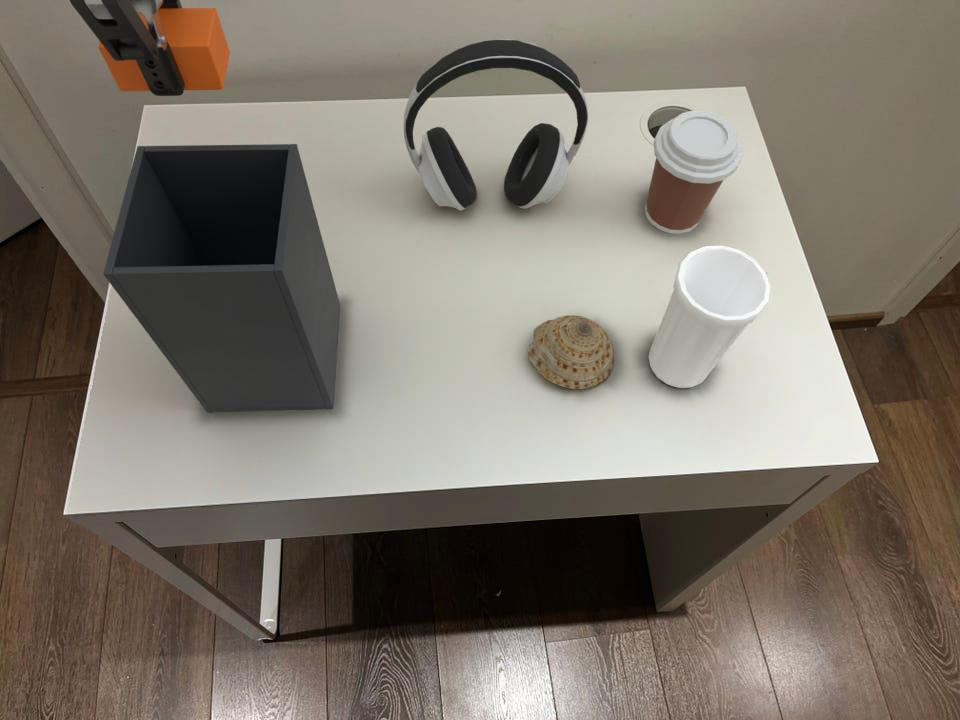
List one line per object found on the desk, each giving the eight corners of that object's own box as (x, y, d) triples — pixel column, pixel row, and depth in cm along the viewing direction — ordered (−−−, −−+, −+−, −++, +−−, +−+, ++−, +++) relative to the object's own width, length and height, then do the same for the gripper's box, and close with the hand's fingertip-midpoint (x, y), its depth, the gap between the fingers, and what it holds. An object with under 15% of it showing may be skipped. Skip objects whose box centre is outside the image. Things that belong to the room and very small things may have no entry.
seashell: (515, 322, 71) (588, 290, 69) (531, 343, 76) (600, 314, 74) (538, 392, 67) (616, 360, 65) (554, 410, 72) (627, 381, 70)
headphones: (411, 227, 79) (397, 80, 62) (408, 172, 84) (395, 20, 66) (577, 219, 81) (610, 72, 63) (567, 165, 85) (594, 14, 67)
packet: (120, 91, 48) (97, 47, 45) (130, 53, 50) (109, 8, 47) (223, 90, 48) (208, 45, 45) (230, 52, 50) (215, 7, 47)
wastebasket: (206, 412, 68) (102, 274, 48) (223, 307, 74) (137, 145, 54) (333, 408, 68) (282, 270, 49) (340, 304, 74) (296, 143, 54)
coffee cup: (617, 201, 82) (641, 120, 72) (678, 172, 85) (709, 91, 74) (665, 254, 78) (697, 178, 68) (727, 223, 81) (767, 145, 70)
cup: (622, 355, 72) (656, 273, 60) (677, 316, 75) (721, 229, 62) (678, 413, 69) (726, 338, 56) (734, 370, 72) (792, 289, 59)
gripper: (10, -292, 37) (138, 7, 52) (-77, -155, 30) (99, 144, 45) (154, -290, 38) (240, 6, 53) (101, -155, 31) (216, 142, 46)
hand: (174, 69), depth 49 cm, fingers closed on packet, 4 cm apart
